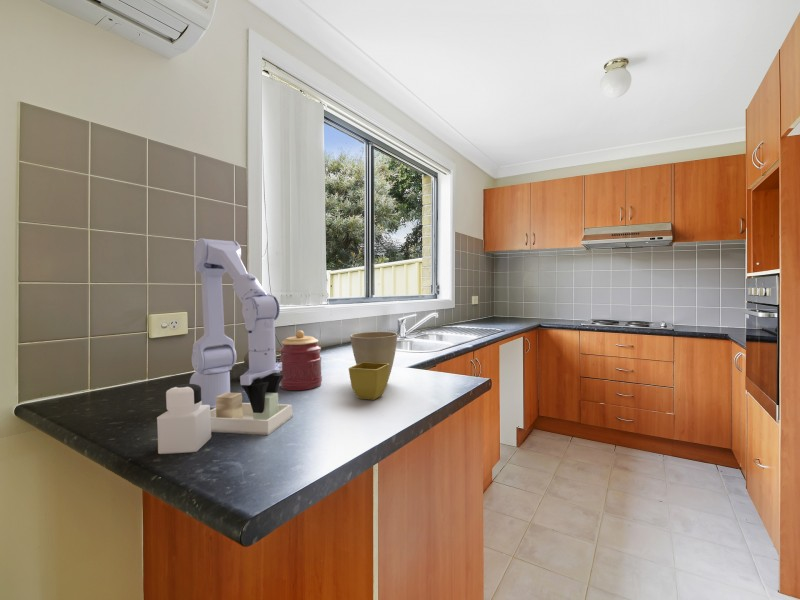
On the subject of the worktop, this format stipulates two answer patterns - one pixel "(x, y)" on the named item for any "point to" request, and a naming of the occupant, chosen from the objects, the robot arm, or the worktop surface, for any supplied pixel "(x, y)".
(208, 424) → the medicine bottle
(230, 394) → the maple block
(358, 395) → the flower pot
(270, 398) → the sage block
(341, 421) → the worktop surface
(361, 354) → the plant pot
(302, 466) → the worktop surface
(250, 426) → the serving tray
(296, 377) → the canister
